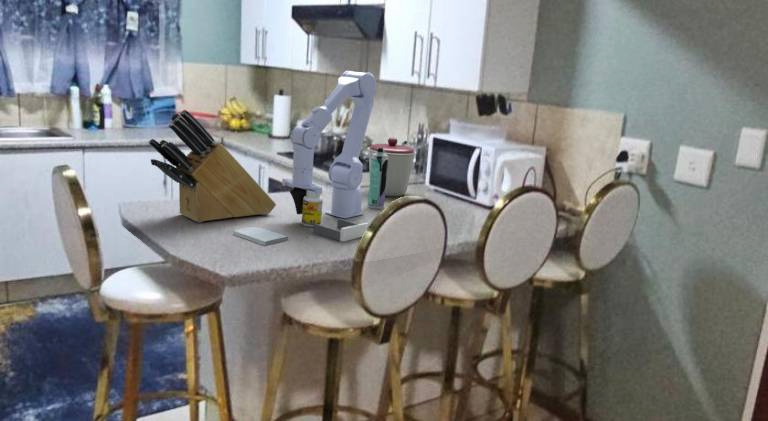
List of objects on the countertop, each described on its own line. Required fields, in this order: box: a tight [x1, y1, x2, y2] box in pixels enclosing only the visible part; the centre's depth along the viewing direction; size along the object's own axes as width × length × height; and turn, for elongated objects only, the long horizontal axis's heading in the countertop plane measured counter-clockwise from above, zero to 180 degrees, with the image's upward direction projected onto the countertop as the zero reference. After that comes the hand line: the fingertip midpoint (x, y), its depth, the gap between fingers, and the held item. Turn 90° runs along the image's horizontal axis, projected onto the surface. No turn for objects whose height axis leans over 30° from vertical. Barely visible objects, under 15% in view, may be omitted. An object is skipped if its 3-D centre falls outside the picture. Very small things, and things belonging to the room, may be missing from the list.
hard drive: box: [232, 226, 289, 246], centre depth 165 cm, size 2×8×12 cm
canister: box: [367, 136, 417, 197], centre depth 231 cm, size 18×18×21 cm
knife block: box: [148, 109, 277, 224], centre depth 178 cm, size 11×35×31 cm, turn 133°
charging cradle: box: [312, 217, 370, 243], centre depth 174 cm, size 11×11×4 cm
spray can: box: [367, 148, 388, 210], centre depth 209 cm, size 6×6×20 cm
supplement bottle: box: [301, 189, 324, 228], centre depth 180 cm, size 6×6×10 cm
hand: (300, 213), depth 183 cm, fingers closed
